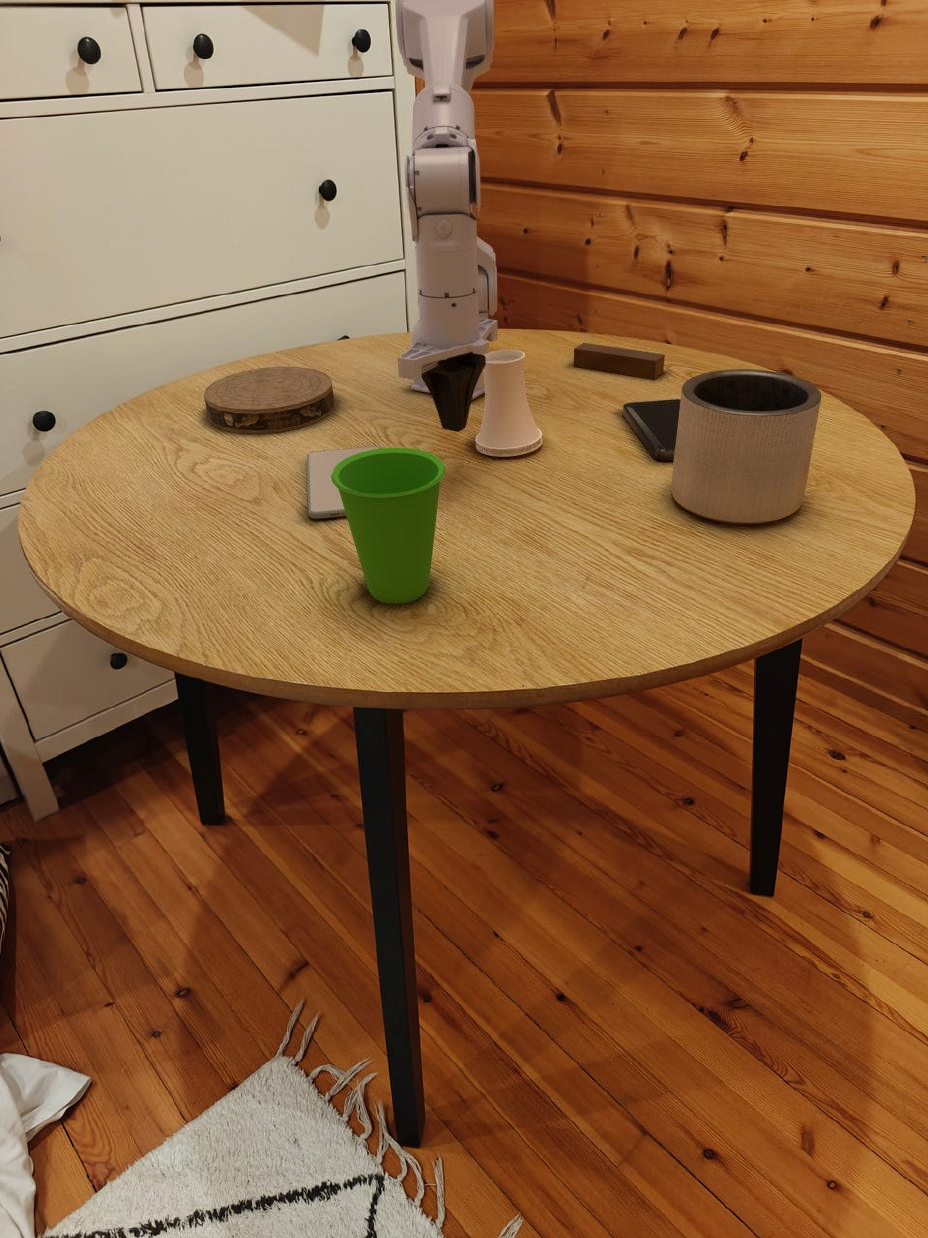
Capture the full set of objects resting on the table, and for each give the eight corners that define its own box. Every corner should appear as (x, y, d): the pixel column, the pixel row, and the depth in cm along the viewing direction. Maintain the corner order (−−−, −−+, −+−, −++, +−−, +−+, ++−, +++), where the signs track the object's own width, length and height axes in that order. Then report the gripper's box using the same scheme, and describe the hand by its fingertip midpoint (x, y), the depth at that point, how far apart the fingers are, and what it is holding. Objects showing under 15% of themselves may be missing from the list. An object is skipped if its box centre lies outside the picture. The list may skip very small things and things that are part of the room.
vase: (518, 461, 97) (512, 369, 92) (462, 451, 101) (453, 362, 96) (555, 437, 102) (551, 349, 97) (500, 428, 106) (493, 343, 101)
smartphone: (307, 513, 88) (306, 451, 100) (309, 522, 88) (307, 459, 100) (393, 505, 88) (381, 444, 101) (394, 514, 89) (381, 452, 101)
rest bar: (573, 366, 125) (573, 348, 123) (583, 360, 127) (583, 342, 125) (654, 379, 119) (656, 360, 118) (663, 372, 121) (665, 354, 120)
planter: (826, 521, 84) (850, 406, 78) (698, 536, 83) (712, 420, 77) (767, 468, 95) (784, 362, 88) (652, 480, 93) (661, 374, 87)
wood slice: (357, 412, 113) (355, 388, 111) (238, 444, 105) (233, 419, 104) (301, 380, 124) (298, 358, 122) (189, 407, 116) (184, 384, 115)
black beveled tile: (656, 451, 96) (621, 402, 109) (655, 461, 97) (620, 411, 109) (728, 446, 97) (685, 397, 109) (727, 455, 97) (684, 406, 110)
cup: (347, 566, 81) (332, 450, 74) (448, 558, 81) (442, 443, 75) (344, 621, 73) (328, 498, 67) (455, 613, 73) (449, 489, 67)
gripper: (439, 314, 78) (446, 460, 85) (523, 277, 88) (523, 411, 95) (374, 305, 81) (387, 447, 89) (462, 271, 91) (467, 401, 99)
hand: (453, 428), depth 92 cm, fingers closed
